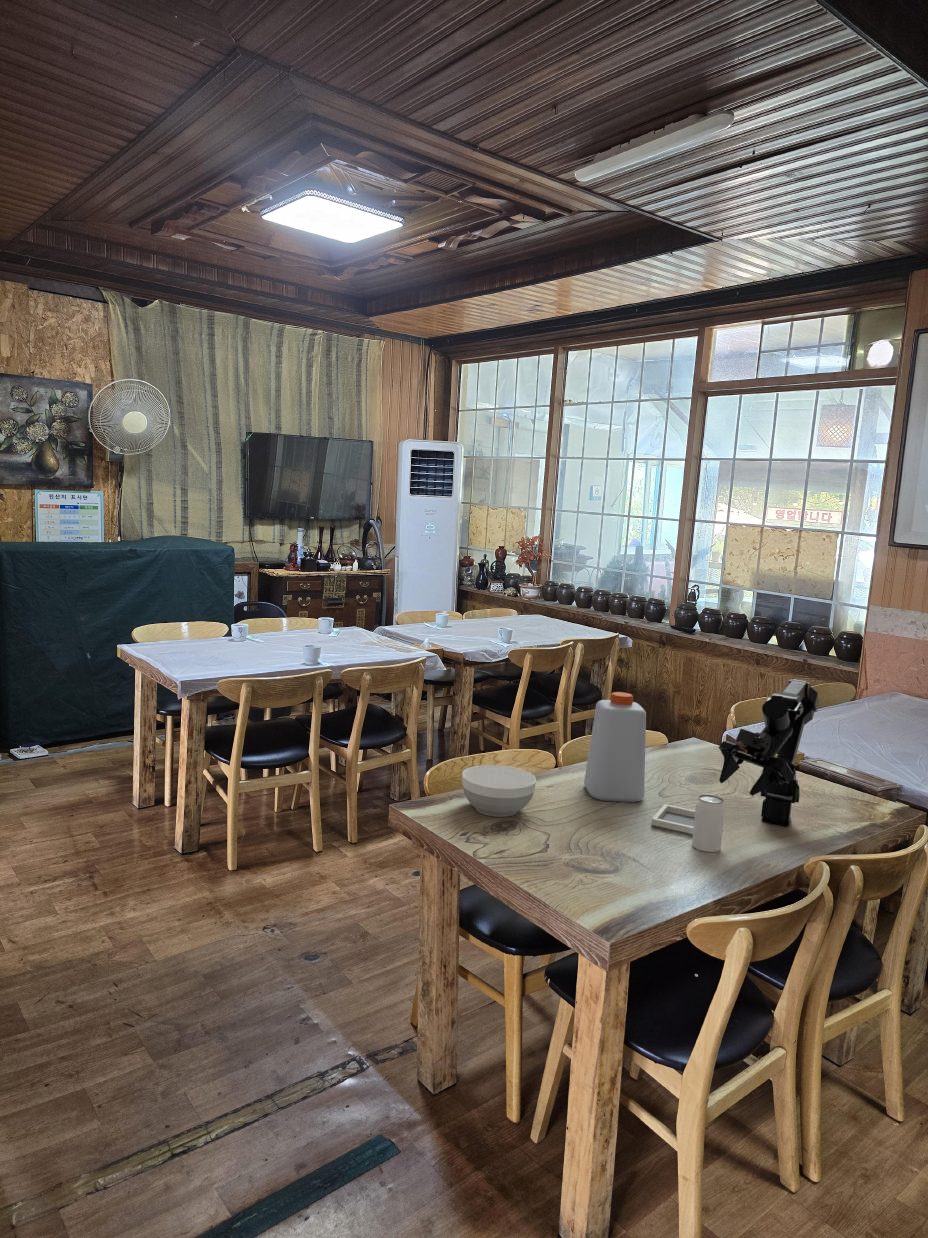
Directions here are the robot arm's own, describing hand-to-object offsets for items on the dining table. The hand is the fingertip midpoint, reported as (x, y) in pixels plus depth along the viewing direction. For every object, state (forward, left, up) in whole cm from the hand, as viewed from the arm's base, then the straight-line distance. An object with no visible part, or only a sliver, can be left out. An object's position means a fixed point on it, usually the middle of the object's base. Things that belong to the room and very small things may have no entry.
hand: (735, 788), depth 200 cm
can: (+4, +7, -14) cm, 16 cm away
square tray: (+12, -5, -13) cm, 19 cm away
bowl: (+55, +14, -14) cm, 59 cm away
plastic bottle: (+34, -17, -14) cm, 41 cm away
